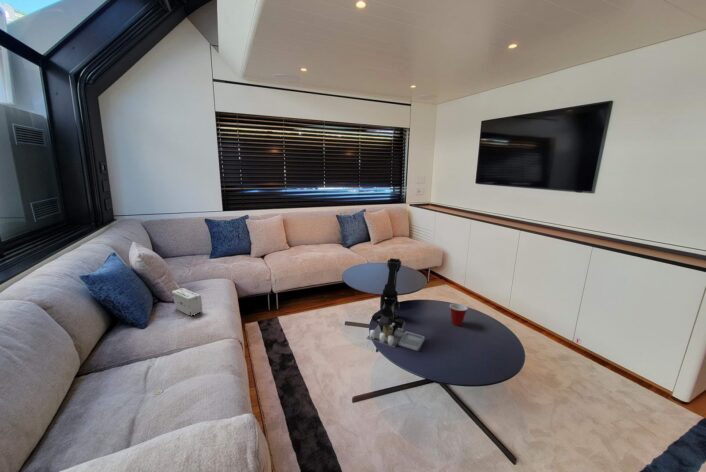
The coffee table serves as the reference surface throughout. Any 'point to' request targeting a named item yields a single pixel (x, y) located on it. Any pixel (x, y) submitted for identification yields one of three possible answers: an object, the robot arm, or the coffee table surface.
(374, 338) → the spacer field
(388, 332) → the tan faceted polyhedron
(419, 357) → the coffee table surface
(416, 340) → the nut tray
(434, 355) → the coffee table surface
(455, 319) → the plastic cup
